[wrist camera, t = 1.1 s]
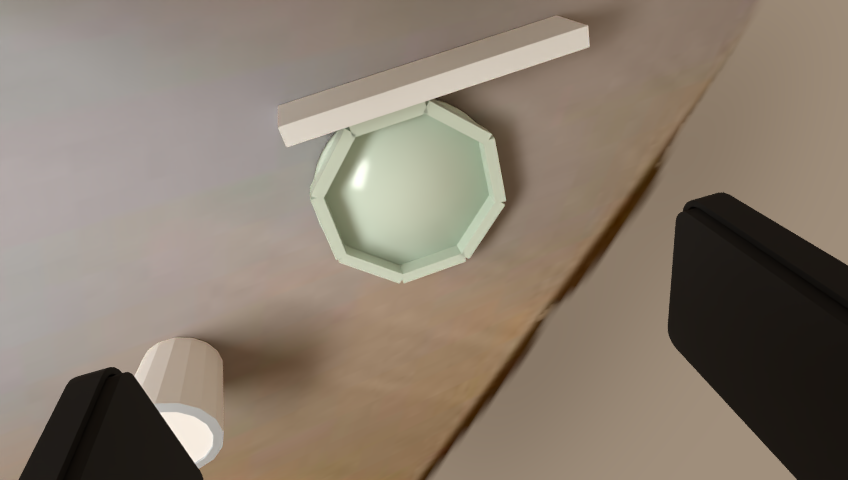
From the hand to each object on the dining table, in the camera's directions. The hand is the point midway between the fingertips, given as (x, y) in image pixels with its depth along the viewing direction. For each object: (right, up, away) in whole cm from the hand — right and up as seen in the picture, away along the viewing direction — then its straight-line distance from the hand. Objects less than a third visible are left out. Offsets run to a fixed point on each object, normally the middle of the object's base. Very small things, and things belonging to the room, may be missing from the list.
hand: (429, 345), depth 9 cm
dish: (-1, +5, +27) cm, 28 cm away
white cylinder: (-18, -8, +30) cm, 36 cm away
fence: (0, +12, +23) cm, 26 cm away
